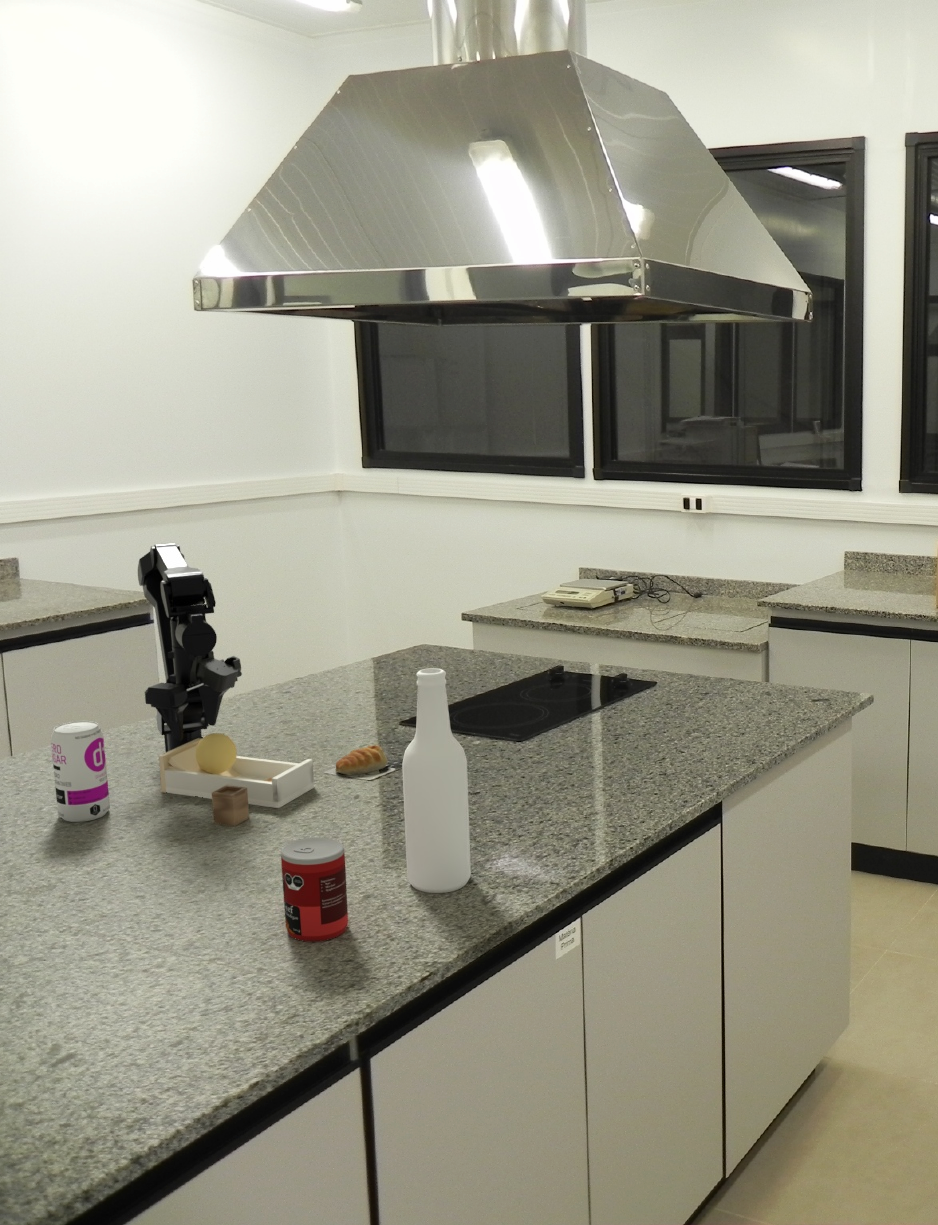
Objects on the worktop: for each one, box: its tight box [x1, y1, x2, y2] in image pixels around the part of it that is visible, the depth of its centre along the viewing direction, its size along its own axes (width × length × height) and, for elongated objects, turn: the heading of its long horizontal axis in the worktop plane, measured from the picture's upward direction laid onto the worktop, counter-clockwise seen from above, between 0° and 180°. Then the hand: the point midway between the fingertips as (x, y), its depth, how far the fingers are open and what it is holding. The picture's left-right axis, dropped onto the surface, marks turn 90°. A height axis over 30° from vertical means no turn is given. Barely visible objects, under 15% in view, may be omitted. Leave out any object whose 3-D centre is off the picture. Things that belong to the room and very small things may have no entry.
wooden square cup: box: [211, 785, 250, 827], centre depth 195 cm, size 4×4×5 cm
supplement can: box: [50, 720, 111, 823], centre depth 199 cm, size 8×8×15 cm
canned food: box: [280, 837, 349, 943], centre depth 154 cm, size 8×8×11 cm
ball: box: [196, 732, 238, 774], centre depth 211 cm, size 7×7×7 cm
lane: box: [158, 738, 315, 809], centre depth 210 cm, size 24×11×6 cm, turn 65°
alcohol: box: [401, 667, 472, 894], centre depth 166 cm, size 9×9×30 cm
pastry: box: [335, 744, 389, 776], centre depth 219 cm, size 9×7×4 cm
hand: (196, 732), depth 212 cm, fingers open, 9 cm apart
